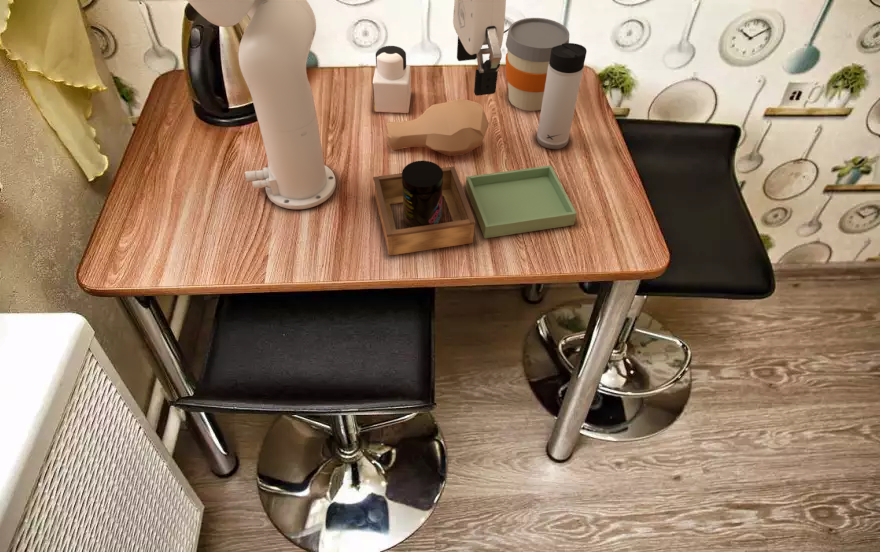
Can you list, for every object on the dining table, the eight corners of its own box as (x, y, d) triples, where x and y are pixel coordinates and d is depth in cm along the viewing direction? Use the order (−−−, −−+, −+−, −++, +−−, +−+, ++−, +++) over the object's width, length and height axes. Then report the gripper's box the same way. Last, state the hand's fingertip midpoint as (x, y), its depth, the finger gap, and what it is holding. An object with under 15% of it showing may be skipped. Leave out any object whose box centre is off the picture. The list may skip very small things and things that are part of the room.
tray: (484, 238, 106) (485, 226, 104) (465, 188, 115) (466, 176, 113) (574, 225, 109) (576, 213, 107) (549, 176, 117) (551, 165, 115)
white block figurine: (378, 93, 134) (374, 41, 125) (411, 94, 134) (410, 42, 125) (374, 112, 130) (370, 59, 121) (408, 113, 130) (407, 61, 121)
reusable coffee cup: (513, 77, 139) (521, 11, 128) (566, 92, 136) (579, 26, 125) (490, 105, 132) (496, 38, 121) (546, 122, 128) (558, 55, 117)
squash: (492, 160, 120) (491, 127, 113) (390, 172, 122) (382, 141, 114) (486, 119, 126) (485, 85, 118) (389, 131, 127) (381, 98, 119)
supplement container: (425, 239, 106) (426, 193, 98) (395, 222, 108) (393, 175, 101) (449, 217, 109) (451, 171, 102) (419, 201, 112) (419, 155, 104)
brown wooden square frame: (388, 256, 103) (386, 235, 99) (374, 198, 112) (373, 176, 109) (473, 243, 105) (475, 222, 102) (453, 187, 115) (454, 165, 111)
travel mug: (551, 154, 122) (569, 60, 106) (530, 137, 125) (544, 43, 110) (575, 144, 124) (596, 50, 109) (554, 127, 127) (571, 34, 112)
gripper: (441, -64, 87) (438, 49, 100) (475, -8, 76) (467, 111, 89) (492, -68, 89) (482, 45, 102) (533, -13, 78) (516, 105, 91)
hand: (475, 76), depth 95 cm, fingers open, 9 cm apart
